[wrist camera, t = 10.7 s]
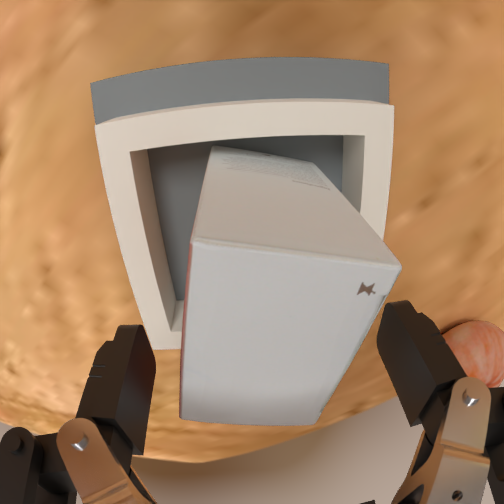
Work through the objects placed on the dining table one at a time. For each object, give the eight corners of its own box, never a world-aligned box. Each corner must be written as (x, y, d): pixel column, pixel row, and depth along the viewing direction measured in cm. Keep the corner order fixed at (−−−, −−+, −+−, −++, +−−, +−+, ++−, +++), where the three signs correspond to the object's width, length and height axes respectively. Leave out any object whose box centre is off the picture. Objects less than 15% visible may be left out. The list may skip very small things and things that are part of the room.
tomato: (386, 361, 28) (415, 426, 21) (468, 285, 24) (516, 343, 17) (430, 386, 32) (454, 437, 25) (496, 327, 28) (531, 374, 21)
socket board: (100, 82, 15) (64, 85, 11) (377, 64, 15) (416, 63, 11) (154, 328, 24) (144, 372, 20) (357, 310, 24) (376, 350, 20)
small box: (212, 142, 16) (187, 230, 7) (315, 160, 17) (410, 262, 8) (194, 272, 20) (175, 423, 11) (282, 283, 21) (316, 428, 11)
